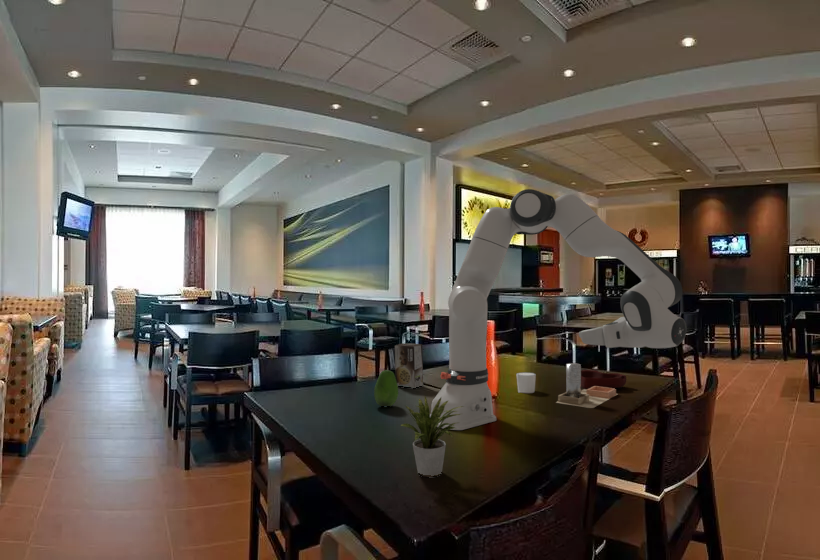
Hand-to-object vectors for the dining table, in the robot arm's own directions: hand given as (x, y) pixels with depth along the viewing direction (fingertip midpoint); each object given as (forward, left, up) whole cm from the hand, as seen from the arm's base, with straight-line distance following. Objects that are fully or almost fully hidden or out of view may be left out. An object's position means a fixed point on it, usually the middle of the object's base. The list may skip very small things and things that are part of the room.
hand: (591, 332), depth 156 cm
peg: (+4, +7, -23) cm, 25 cm away
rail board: (+11, +5, -24) cm, 27 cm away
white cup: (+8, +26, -24) cm, 37 cm away
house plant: (-72, +7, -24) cm, 77 cm away
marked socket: (+18, +3, -24) cm, 30 cm away
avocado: (-36, +53, -24) cm, 69 cm away
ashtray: (+32, +10, -25) cm, 42 cm away
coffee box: (-8, +67, -24) cm, 72 cm away
